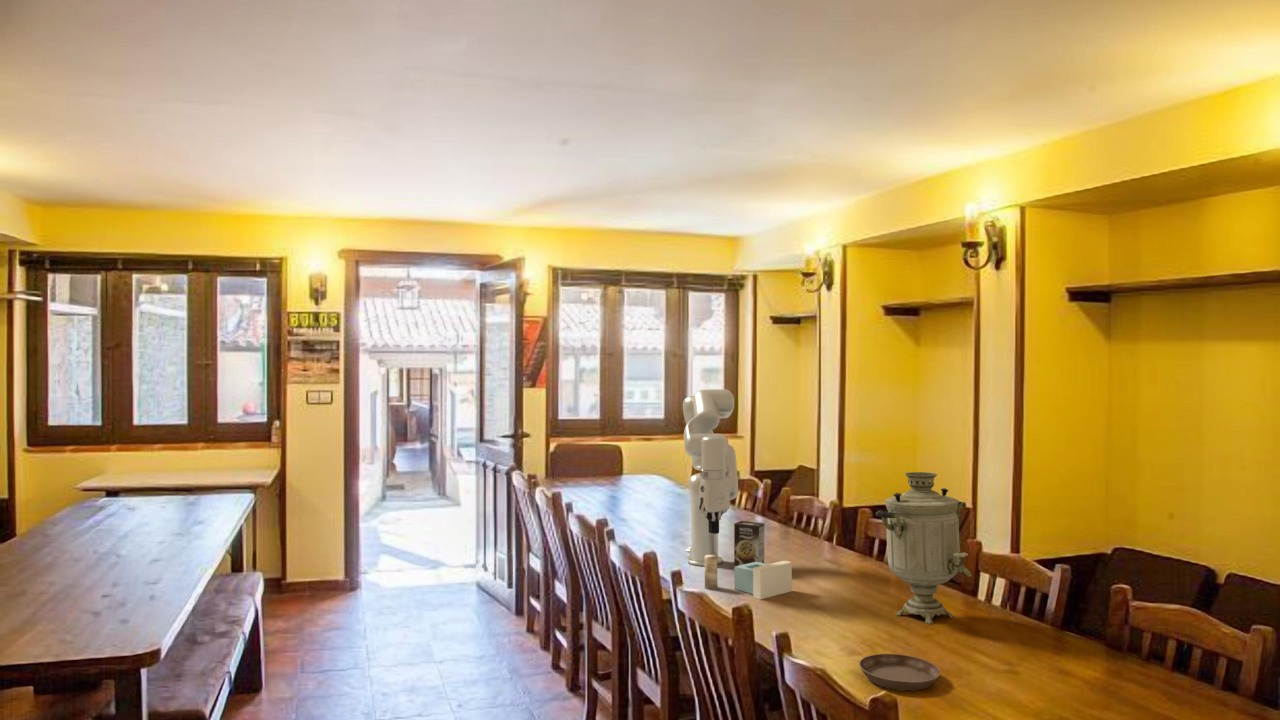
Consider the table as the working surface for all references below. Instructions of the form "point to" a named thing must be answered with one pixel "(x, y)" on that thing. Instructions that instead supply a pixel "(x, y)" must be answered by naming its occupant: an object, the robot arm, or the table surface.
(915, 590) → the samovar
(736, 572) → the green square container
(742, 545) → the coffee box
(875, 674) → the plant saucer
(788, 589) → the block
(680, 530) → the table surface
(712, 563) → the dowel
